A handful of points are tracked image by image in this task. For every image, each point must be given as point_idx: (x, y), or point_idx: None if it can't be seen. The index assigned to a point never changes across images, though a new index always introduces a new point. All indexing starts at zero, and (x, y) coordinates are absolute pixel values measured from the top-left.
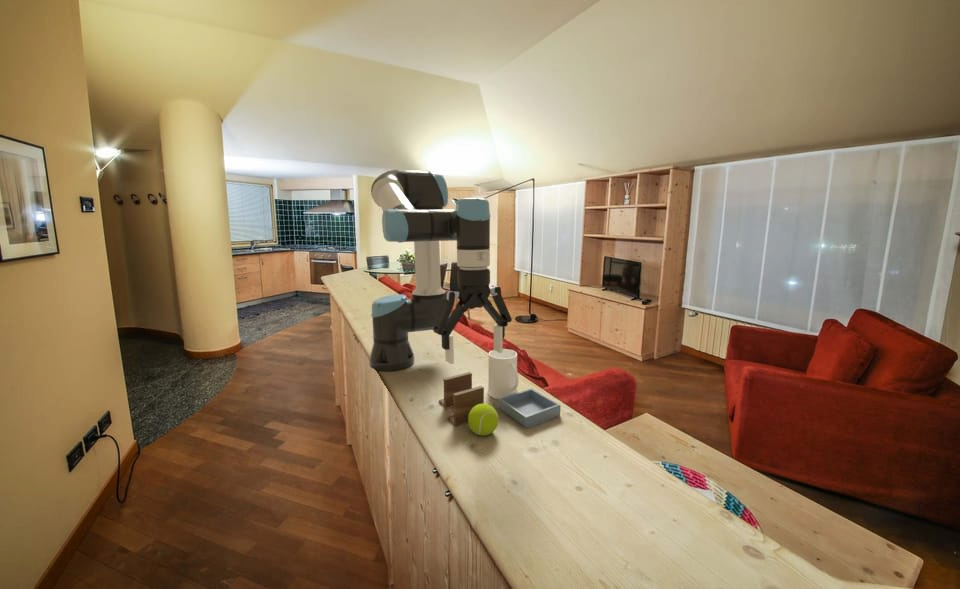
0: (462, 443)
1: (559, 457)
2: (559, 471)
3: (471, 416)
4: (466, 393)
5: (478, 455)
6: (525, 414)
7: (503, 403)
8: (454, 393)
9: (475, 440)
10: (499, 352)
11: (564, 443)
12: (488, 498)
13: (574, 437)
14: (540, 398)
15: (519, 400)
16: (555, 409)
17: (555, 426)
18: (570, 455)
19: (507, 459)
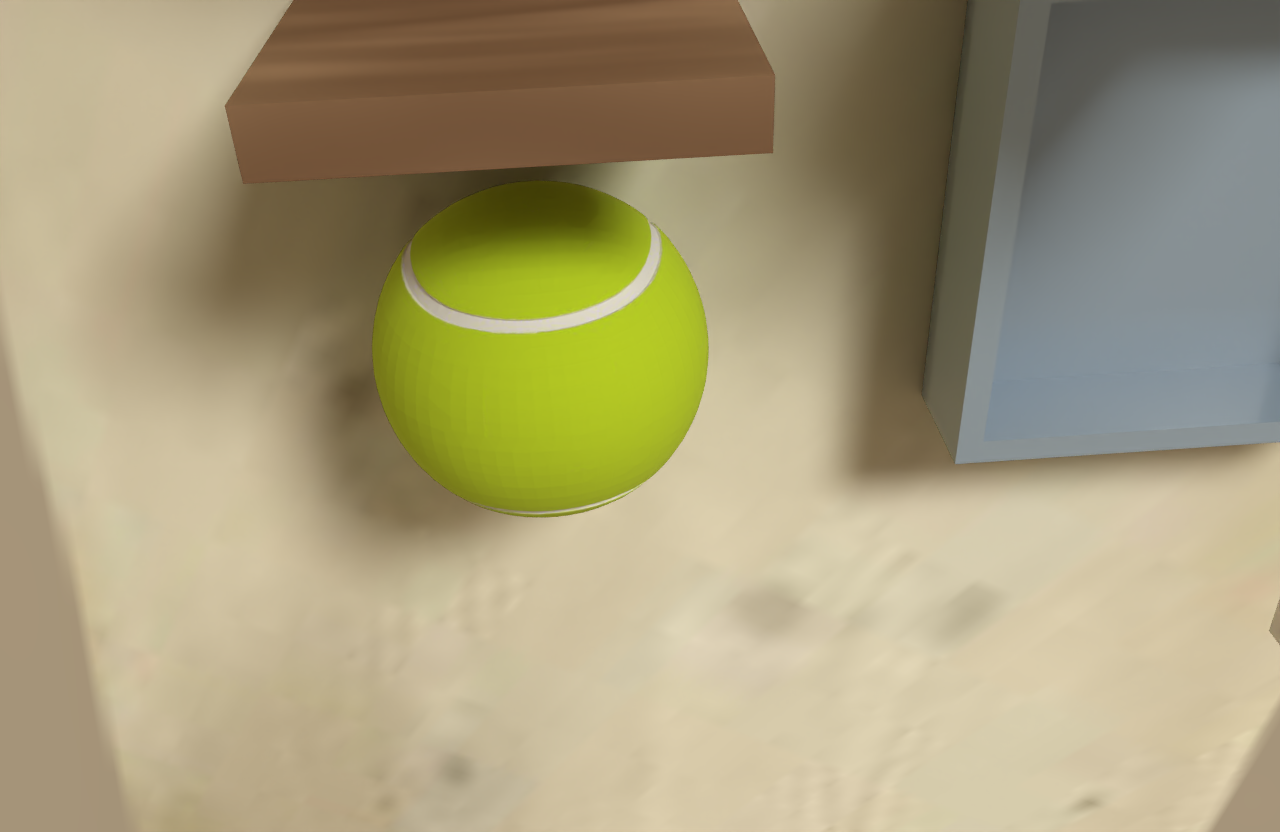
0: (286, 326)
1: (854, 722)
2: (752, 797)
3: (385, 395)
4: (445, 167)
5: (355, 509)
6: (1102, 231)
7: (1001, 82)
8: (249, 109)
9: None
10: (1277, 614)
11: (1009, 642)
12: (253, 804)
13: (1129, 623)
14: None
15: None
16: None
17: (1156, 469)
18: (928, 733)
19: (534, 619)
